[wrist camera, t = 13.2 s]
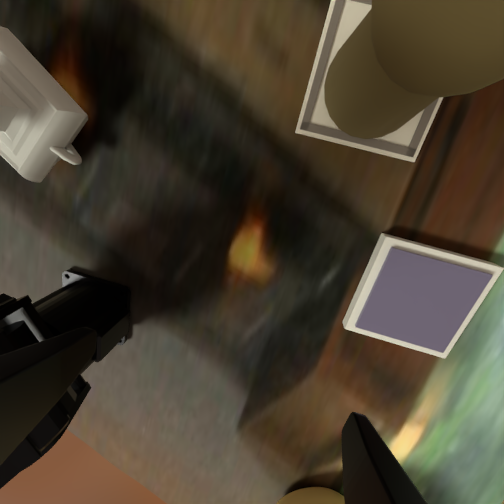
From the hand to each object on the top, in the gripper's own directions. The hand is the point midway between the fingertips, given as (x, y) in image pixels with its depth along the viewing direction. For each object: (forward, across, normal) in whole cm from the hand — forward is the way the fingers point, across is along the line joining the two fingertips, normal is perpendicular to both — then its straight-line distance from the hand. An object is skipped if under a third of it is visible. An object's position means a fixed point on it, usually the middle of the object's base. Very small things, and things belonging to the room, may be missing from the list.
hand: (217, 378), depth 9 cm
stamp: (+13, +18, -6) cm, 23 cm away
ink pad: (+13, -12, 0) cm, 18 cm away
